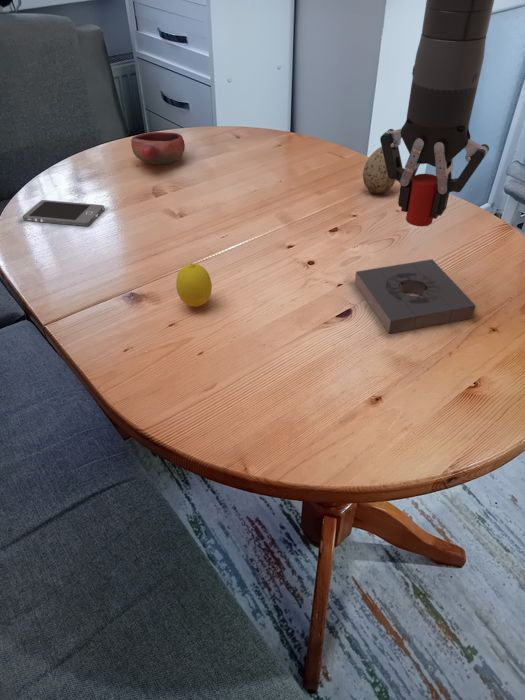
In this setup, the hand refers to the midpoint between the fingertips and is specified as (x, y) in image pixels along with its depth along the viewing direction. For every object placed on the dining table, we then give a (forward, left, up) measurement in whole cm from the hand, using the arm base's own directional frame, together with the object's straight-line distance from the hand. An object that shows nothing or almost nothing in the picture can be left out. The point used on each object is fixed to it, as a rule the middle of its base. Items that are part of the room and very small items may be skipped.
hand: (420, 212), depth 74 cm
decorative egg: (-14, -41, -17) cm, 47 cm away
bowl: (+30, -70, -17) cm, 78 cm away
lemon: (+31, -10, -17) cm, 37 cm away
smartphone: (+53, -50, -17) cm, 75 cm away
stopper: (0, 0, -1) cm, 1 cm away
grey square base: (-3, -2, -17) cm, 17 cm away
